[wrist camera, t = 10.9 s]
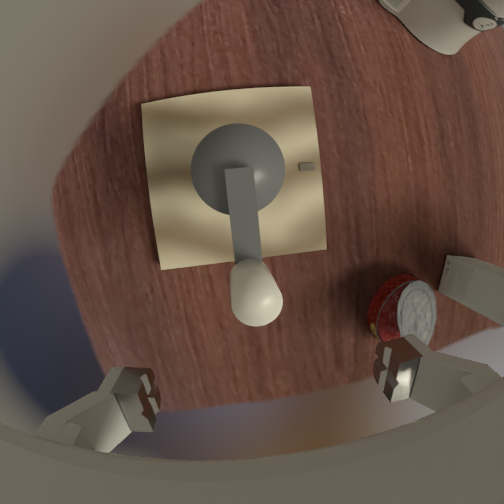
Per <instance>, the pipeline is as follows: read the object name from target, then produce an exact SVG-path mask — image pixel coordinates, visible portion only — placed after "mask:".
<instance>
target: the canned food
mask: <svg viewBox="0 0 504 504" xmlns="http://www.w3.org/2000/svg"><path fill="white" fill-rule="evenodd" d="M367 320H368V325H369V328H370V330H371V332H372V333H373V334H374V335H375V336H376V337H377V338H378V339H379V340H380V342H384V341H388V340H392V339H396V338H400V337H402V336H406V335H409V334H414V335H415V336H417V337H418V338H419V339H420V340H421V341H422V342H423V343H424V344H425V345H427V346H428V345H429V342H430V339H431V337H432V334H433V332H434V326H435V321H436V300H435V295H434V292H433V290H432V288H431V287H430V286H429V285H428V284H427V283H425V282H423V281H421V280H420V279H418V278H416V277H414V276H412V275H408V274H401V275H397V276H394V277H392V278H390V279H388V280H387V281H386V282H385V283H383V284H382V285H381V286H380V288H379V289H378V290H377V291H376V293H375V294H374V296H373V298H372V300H371V302H370V305H369V308H368V314H367Z"/></svg>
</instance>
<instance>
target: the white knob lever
mask: <svg viewBox="0 0 504 504" xmlns="http://www.w3.org/2000/svg"><path fill="white" fill-rule="evenodd" d="M284 177H285V162H284V157H283V154H282V152H281V149H280V147H279V146H278V144H277V143H276V141H275V140H274V139H273V138H272V137H271V136H270V135H269V134H268V133H266V132H265V131H264V130H262V129H260V128H258V127H255V126H253V125H249V124H243V123H233V124H227V125H224V126H221V127H218V128H216V129H214V130H213V131H211V132H210V133H209V134H207V135H206V136H205V137H204V138H203V139H202V140H201V142H200V143H199V144H198V146H197V148H196V149H195V152H194V154H193V157H192V161H191V178H192V182H193V185H194V188H195V190H196V192H197V194H198V195H199V197H200V198H201V199H202V200H203V201H204V202H205V203H206V204H207V205H208V206H209V207H211V208H212V209H214V210H216V211H218V212H220V213H223V214H227V215H229V216H230V225H231V233H232V242H233V251H234V259H235V265H234V267H233V268H232V270H231V273H230V286H231V303H232V310H233V313H234V315H235V316H236V318H237V319H238V320H239V321H241V322H242V323H244V324H246V325H249V326H263V325H266V324H268V323H270V322H272V321H273V320H274V319H275V318H276V317H277V316H278V315H279V313H280V311H281V309H282V304H283V299H282V295H281V292H280V290H279V288H278V286H277V284H276V282H275V280H274V278H273V276H272V274H271V272H270V271H269V269H268V267H267V265H266V264H265V263H264V262H263V261H262V251H261V240H260V230H259V219H258V211H260V210H261V209H263V208H265V207H266V206H267V205H269V204H270V203H271V202H272V201H273V200H274V199H275V197H276V196H277V195H278V193H279V191H280V189H281V187H282V184H283V181H284Z"/></svg>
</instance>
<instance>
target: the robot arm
mask: <svg viewBox="0 0 504 504" xmlns="http://www.w3.org/2000/svg"><path fill="white" fill-rule="evenodd" d="M379 2H380V4H381V5H382V6H383V7H384V8H385V9H387V10H388V11H389V12H391V13H392V14H394V15H395V16H397V17H398V18H399V19H400V20H401V22H402V23H403V24H404V25H405V26H406V27H407V28H408V29H409V31H410V32H411V33H412V34H413V35H414V36H416V37H417V38H418V39H419V40H420V41H421V42H423V43H424V44H425V45H427V46H428V47H430V48H431V49H433V50H435V51H437V52H439V53H442V54H447V55H452V54H455V53H457V52H458V51H459V49H460V48H461V47H462V46H463V45H464V44H465V43H466V42H467V41H468V40H470V39H471V38H472V37H474V36H475V35H477V34H478V33H480V32H483V31H487V30H490V29H493V28H496V27H498V26H501V25H502V24H504V0H379ZM375 353H376V354H377V356H378V358H377V359H376V360H375V362H374V366H373V374H374V378H375V381H376V382H377V384H378V385H379V386H382V387H384V390H383V393H384V394H385V396H386V397H387V399H388V400H389V402H390V403H392V402H395V401H399V400H402V399H406V398H409V397H410V398H411V399H413V400H415V401H416V402H418V403H420V404H422V405H424V406H426V407H428V408H430V409H432V410H434V411H436V412H435V413H433V414H430V415H428V416H426V417H423V418H421V419H418V420H416V421H413V422H410V423H408V424H405V425H402V426H400V427H397V428H394V429H391V430H388V431H385V432H381V433H378V434H375V435H371V436H368V437H365V438H361V439H357V440H353V441H350V442H346V443H341V444H337V445H333V446H328V447H324V448H319V449H313V450H308V451H303V452H297V453H290V454H283V455H276V456H267V457H259V458H247V459H232V460H231V459H230V460H170V459H155V458H144V457H134V456H126V455H118V454H112V453H109V452H110V451H111V450H112V449H113V448H114V447H116V445H118V444H119V443H120V442H121V441H122V440H123V439H124V438H125V437H126V436H128V435H129V434H130V433H131V431H143V432H153V431H154V428H155V424H156V420H157V418H156V416H155V414H156V413H157V412H159V410H160V406H161V397H160V391H159V388H158V387H157V386H156V385H155V384H154V383H153V382H154V379H155V376H154V373H153V370H152V369H151V368H134V367H112V368H111V369H110V371H109V372H108V374H107V376H106V377H105V379H104V381H103V383H102V384H101V386H100V387H99V389H98V391H97V392H94V391H93V392H92V393H90V394H88V395H87V396H84V397H83V398H81V399H79V400H77V401H75V402H74V403H72V404H70V405H68V406H66V407H64V408H62V409H61V410H59V411H57V412H55V413H53V414H51V415H49V416H47V417H46V419H45V420H44V422H43V423H42V425H41V426H40V428H39V430H38V431H37V433H36V434H35V435H32V434H29V433H26V432H23V431H20V430H18V429H15V428H12V427H10V426H7V425H4V424H2V423H0V504H504V377H503V378H502V377H501V376H500V375H499V374H497V373H496V372H495V371H494V370H493V369H491V368H490V367H489V366H488V365H487V364H483V363H479V362H475V361H471V360H466V359H463V358H459V357H454V356H451V355H448V354H443V353H440V352H436V353H434V352H433V351H432V350H431V349H430V348H429V347H428V346H427V345H425V344H424V343H423V342H422V341H421V340H420V339H419V338H418V337H417V336H415V335H414V334H409V335H406V336H402V337H400V338H396V339H392V340H388V341H384V342H380V343H378V344H377V346H376V352H375Z"/></svg>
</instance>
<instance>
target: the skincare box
mask: <svg viewBox="0 0 504 504" xmlns="http://www.w3.org/2000/svg"><path fill="white" fill-rule="evenodd" d="M438 291H439V292H440V293H441V294H443V295H445V296H447V297H449V298H451V299H453V300H455V301H457V302H459V303H461V304H463V305H465V306H466V307H468V308H470V309H472V310H474V311H476V312H478V313H480V314H482V315H484V316H485V317H487V318H489V319H491V320H493V321H495V322H496V323H498V324H500V325H502V326H503V327H504V268H501V267H498V266H496V265H493V264H490V263H487V262H484V261H481V260H479V259H476V258H470V257H462V256H451V255H447V257H446V261H445V266H444V270H443V274H442V277H441V281H440V285H439V289H438Z"/></svg>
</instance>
